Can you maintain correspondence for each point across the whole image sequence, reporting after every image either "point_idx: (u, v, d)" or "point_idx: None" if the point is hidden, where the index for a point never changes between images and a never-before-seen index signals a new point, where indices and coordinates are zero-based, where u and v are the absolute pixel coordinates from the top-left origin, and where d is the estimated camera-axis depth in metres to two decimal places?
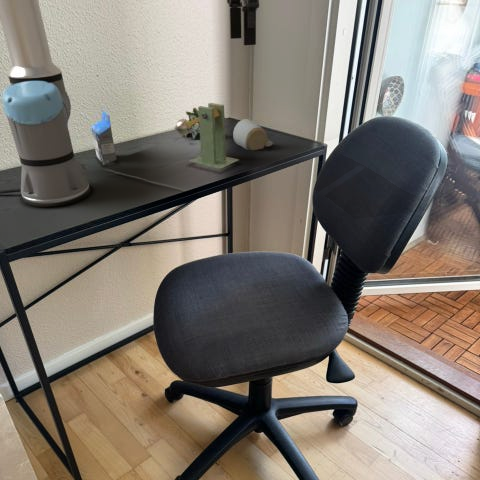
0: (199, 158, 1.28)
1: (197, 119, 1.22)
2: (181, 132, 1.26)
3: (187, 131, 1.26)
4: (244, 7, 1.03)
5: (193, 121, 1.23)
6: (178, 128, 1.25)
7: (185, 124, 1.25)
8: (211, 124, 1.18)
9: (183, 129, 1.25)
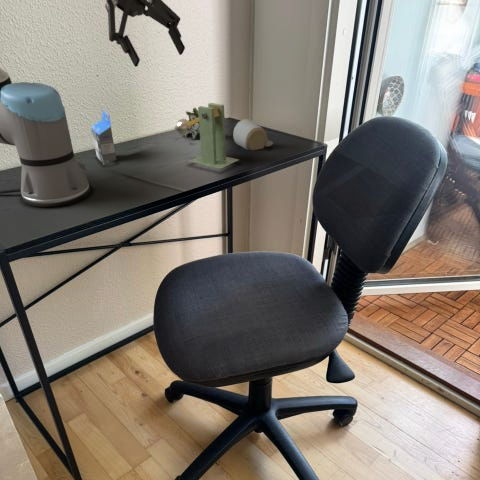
0: (199, 158, 1.28)
1: (197, 119, 1.22)
2: (181, 132, 1.26)
3: (187, 131, 1.26)
4: None
5: (193, 121, 1.23)
6: (178, 128, 1.25)
7: (185, 124, 1.25)
8: (211, 124, 1.18)
9: (183, 129, 1.25)
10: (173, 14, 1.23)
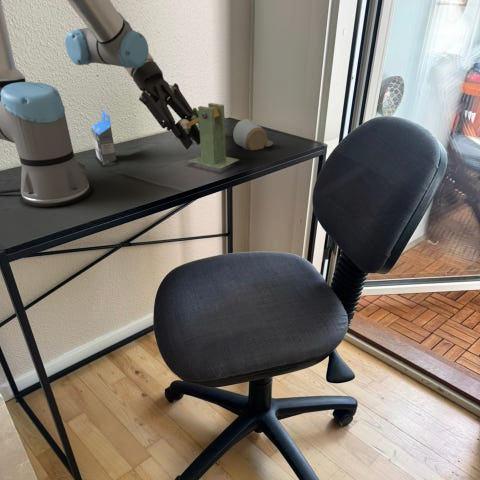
0: (199, 158, 1.28)
1: (197, 119, 1.22)
2: None
3: (187, 131, 1.26)
4: None
5: (193, 121, 1.23)
6: None
7: (185, 124, 1.25)
8: (211, 124, 1.18)
9: None
10: (189, 108, 1.29)
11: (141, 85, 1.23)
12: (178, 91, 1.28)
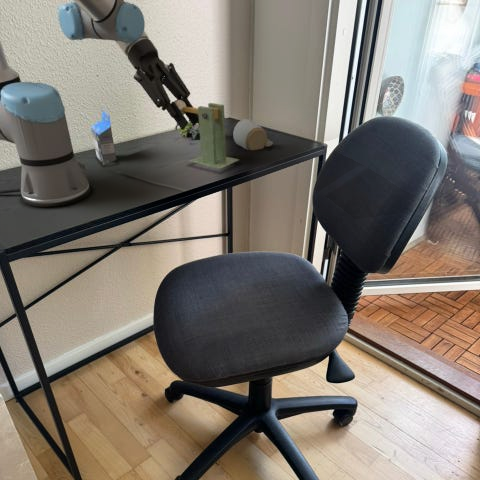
0: (199, 158, 1.28)
1: (195, 111, 1.21)
2: None
3: None
4: None
5: (191, 110, 1.22)
6: None
7: (182, 108, 1.23)
8: (211, 124, 1.18)
9: None
10: (185, 88, 1.26)
11: (136, 63, 1.21)
12: (174, 71, 1.26)
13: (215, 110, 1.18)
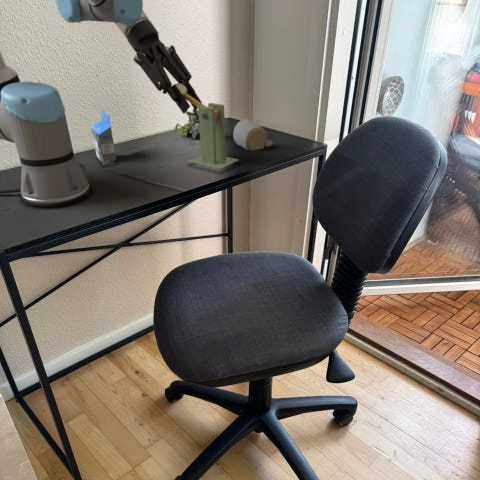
0: (199, 158, 1.28)
1: (196, 104, 1.20)
2: None
3: None
4: None
5: (191, 101, 1.20)
6: None
7: (182, 94, 1.20)
8: (211, 124, 1.18)
9: None
10: (186, 71, 1.23)
11: (136, 45, 1.18)
12: (175, 53, 1.23)
13: (216, 113, 1.18)
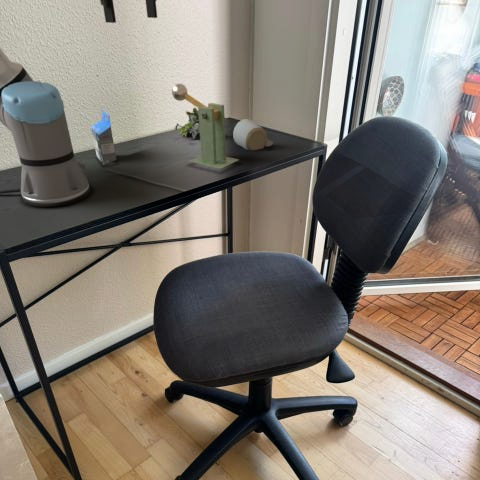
0: (199, 158, 1.28)
1: (196, 104, 1.20)
2: (175, 97, 1.21)
3: (180, 100, 1.22)
4: None
5: (191, 101, 1.20)
6: (174, 93, 1.20)
7: (182, 95, 1.21)
8: (211, 124, 1.18)
9: (178, 98, 1.21)
10: None
11: None
12: None
13: (216, 112, 1.18)
